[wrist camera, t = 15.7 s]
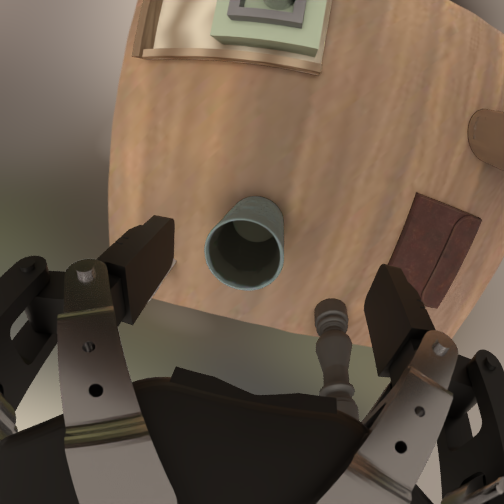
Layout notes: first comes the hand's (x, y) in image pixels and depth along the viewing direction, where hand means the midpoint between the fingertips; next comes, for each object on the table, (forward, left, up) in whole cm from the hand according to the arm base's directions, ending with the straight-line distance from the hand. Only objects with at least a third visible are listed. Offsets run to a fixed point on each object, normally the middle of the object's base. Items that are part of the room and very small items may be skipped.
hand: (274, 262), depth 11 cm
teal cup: (+3, +13, -33) cm, 36 cm away
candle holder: (-14, +28, -33) cm, 46 cm away
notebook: (-29, +12, -34) cm, 46 cm away
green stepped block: (+5, -20, -32) cm, 38 cm away
